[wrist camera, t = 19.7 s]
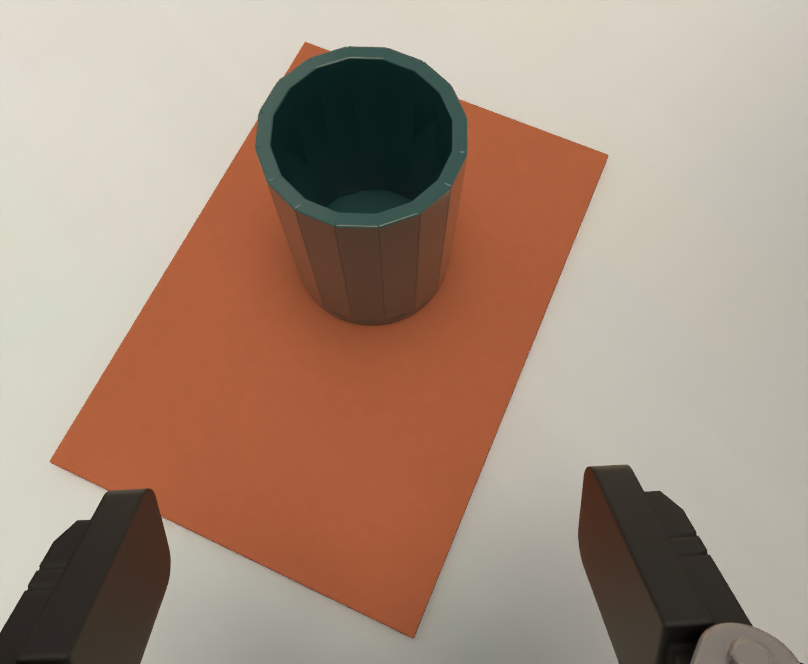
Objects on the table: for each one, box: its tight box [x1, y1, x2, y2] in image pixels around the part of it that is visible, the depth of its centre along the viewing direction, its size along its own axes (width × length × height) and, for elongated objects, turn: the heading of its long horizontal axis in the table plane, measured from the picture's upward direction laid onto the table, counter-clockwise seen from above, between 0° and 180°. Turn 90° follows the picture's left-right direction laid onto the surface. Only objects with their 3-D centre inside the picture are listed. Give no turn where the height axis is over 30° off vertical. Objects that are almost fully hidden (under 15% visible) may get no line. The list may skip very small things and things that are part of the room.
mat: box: [50, 42, 608, 638], centre depth 26 cm, size 20×14×1 cm
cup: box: [255, 46, 468, 326], centre depth 23 cm, size 6×6×8 cm
